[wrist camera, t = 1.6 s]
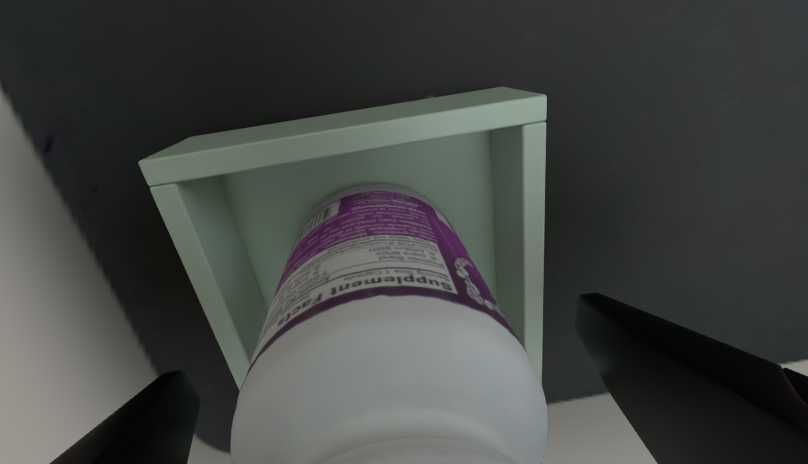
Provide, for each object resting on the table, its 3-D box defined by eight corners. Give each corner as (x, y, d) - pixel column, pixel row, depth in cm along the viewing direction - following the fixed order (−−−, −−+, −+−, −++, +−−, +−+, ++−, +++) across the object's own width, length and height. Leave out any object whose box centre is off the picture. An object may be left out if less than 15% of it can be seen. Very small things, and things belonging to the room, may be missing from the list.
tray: (510, 330, 15) (542, 387, 13) (279, 374, 15) (262, 443, 12) (503, 86, 11) (548, 94, 9) (189, 137, 11) (135, 161, 8)
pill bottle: (463, 305, 14) (645, 723, 5) (319, 335, 14) (252, 822, 5) (445, 161, 12) (717, 473, 3) (271, 195, 11) (-9, 643, 3)
